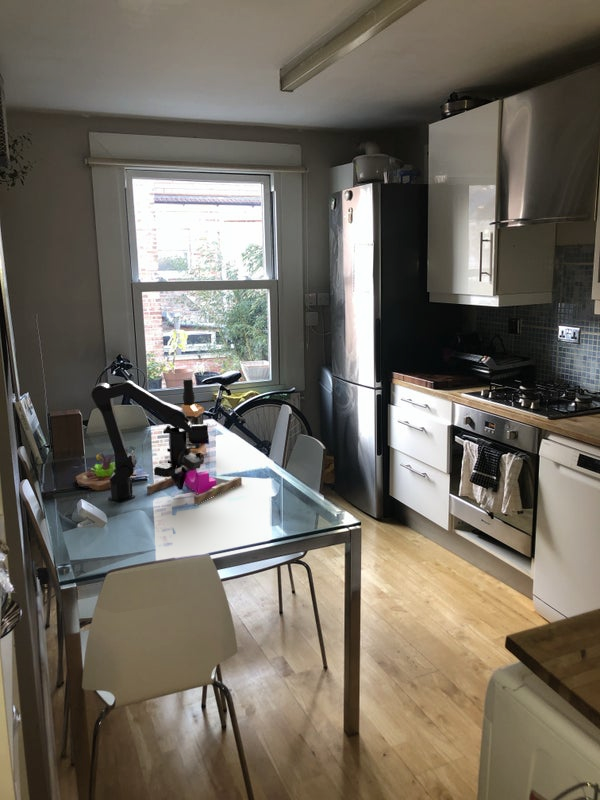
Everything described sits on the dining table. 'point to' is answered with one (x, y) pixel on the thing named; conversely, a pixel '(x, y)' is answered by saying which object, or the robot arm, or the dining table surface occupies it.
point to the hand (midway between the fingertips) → (180, 489)
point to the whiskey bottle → (192, 414)
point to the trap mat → (220, 481)
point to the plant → (99, 475)
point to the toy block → (199, 481)
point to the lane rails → (200, 497)
